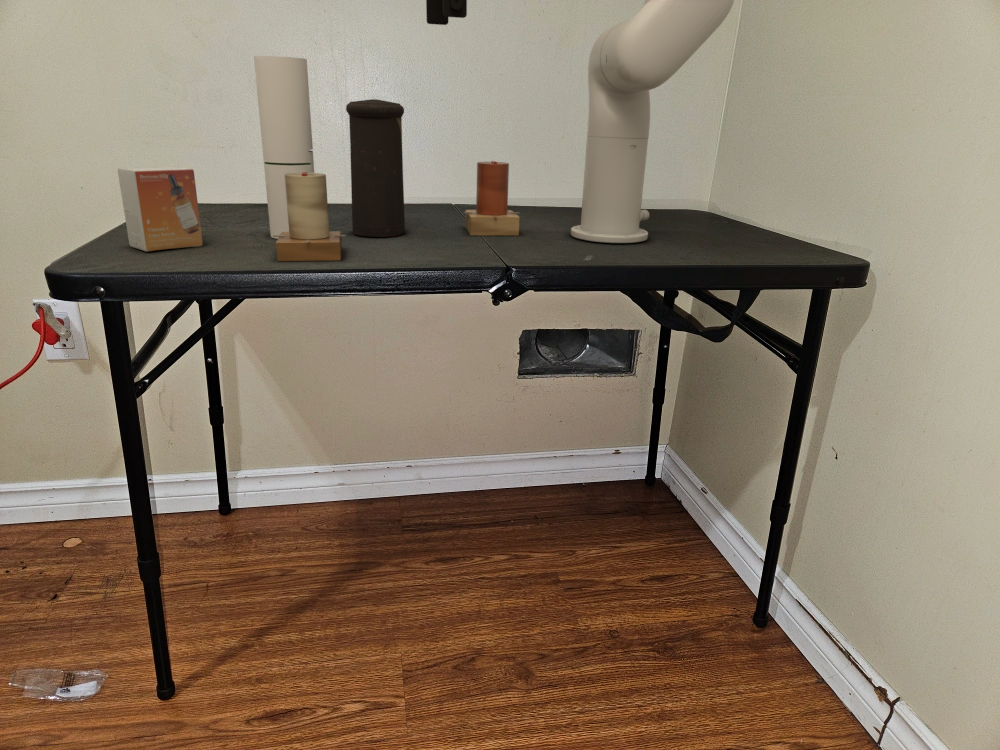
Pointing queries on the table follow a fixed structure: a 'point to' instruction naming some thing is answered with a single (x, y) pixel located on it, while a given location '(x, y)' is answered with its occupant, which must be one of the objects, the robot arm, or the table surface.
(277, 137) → the cylindrical container
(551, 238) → the table surface
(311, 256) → the base
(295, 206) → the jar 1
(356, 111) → the container
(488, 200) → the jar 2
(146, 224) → the small box
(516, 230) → the base
